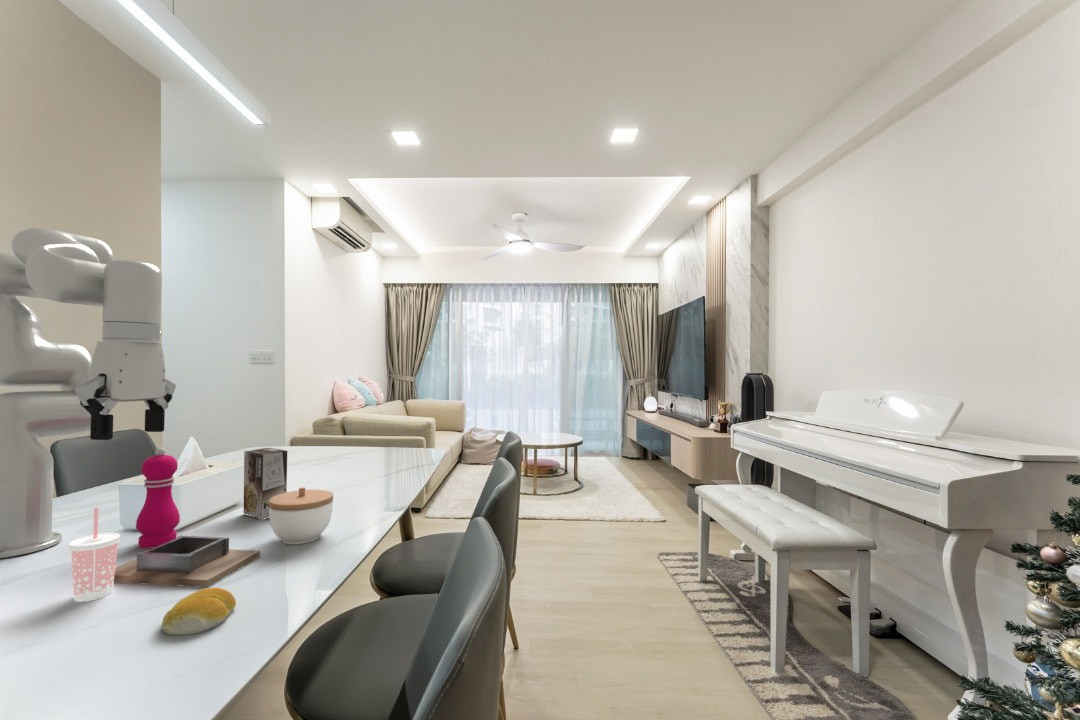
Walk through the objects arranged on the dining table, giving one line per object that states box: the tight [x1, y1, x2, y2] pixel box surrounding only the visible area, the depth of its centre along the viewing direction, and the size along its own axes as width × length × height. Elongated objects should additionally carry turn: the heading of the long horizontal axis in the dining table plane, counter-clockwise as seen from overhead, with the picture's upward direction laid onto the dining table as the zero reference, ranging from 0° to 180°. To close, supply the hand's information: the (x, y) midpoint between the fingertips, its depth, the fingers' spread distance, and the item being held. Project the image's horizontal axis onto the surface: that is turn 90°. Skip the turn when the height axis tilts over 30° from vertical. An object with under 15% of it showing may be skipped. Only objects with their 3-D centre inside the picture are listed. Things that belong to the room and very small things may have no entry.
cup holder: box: [114, 535, 261, 588], centre depth 87 cm, size 20×13×4 cm, turn 85°
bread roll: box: [161, 587, 237, 636], centre depth 70 cm, size 8×9×4 cm
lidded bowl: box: [268, 486, 334, 546], centre depth 103 cm, size 13×13×11 cm
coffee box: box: [243, 447, 288, 520], centre depth 120 cm, size 9×6×16 cm
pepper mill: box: [135, 447, 181, 549], centre depth 100 cm, size 7×7×20 cm
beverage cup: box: [68, 507, 121, 603], centre depth 77 cm, size 6×6×14 cm
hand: (129, 435), depth 80 cm, fingers open, 9 cm apart
